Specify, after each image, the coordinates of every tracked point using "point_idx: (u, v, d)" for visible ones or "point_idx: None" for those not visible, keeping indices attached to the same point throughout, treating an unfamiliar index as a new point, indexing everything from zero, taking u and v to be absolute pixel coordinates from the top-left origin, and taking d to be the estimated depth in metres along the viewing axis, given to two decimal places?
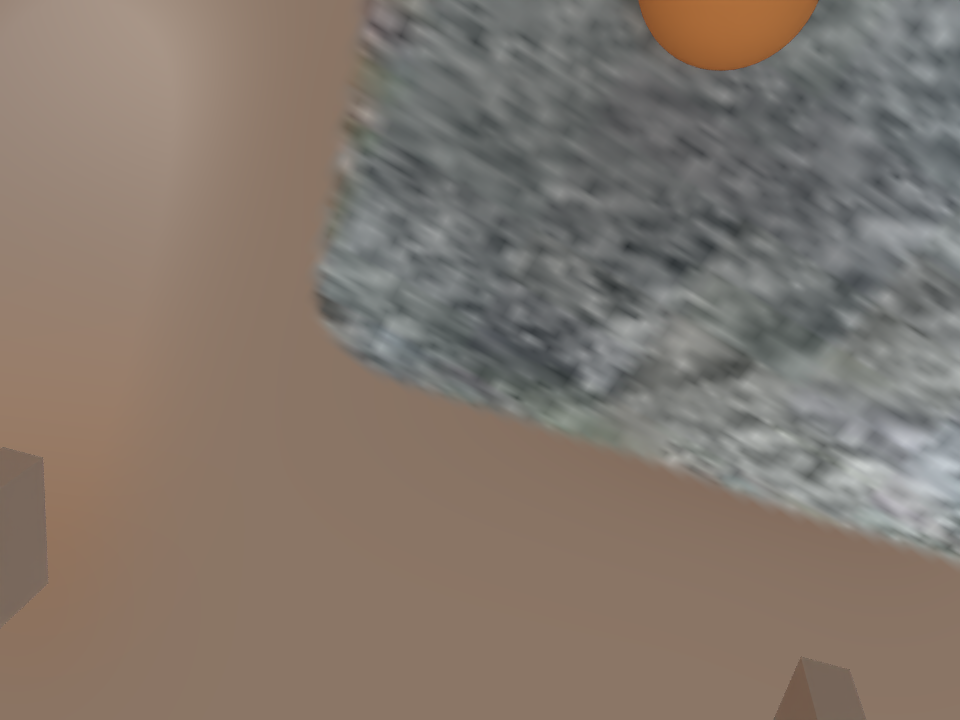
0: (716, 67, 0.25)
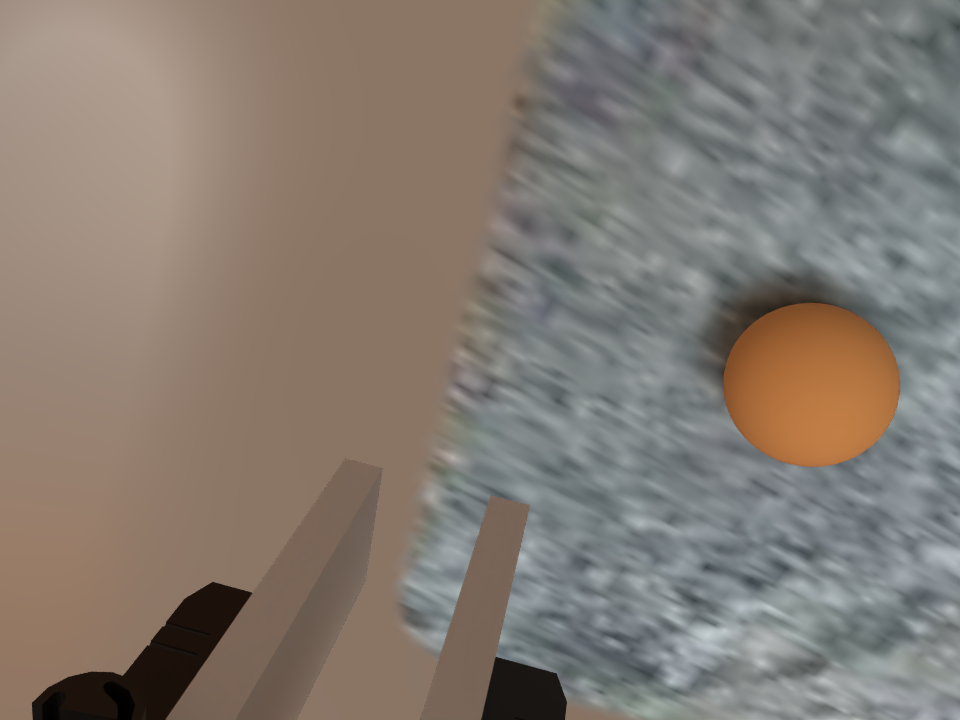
0: None
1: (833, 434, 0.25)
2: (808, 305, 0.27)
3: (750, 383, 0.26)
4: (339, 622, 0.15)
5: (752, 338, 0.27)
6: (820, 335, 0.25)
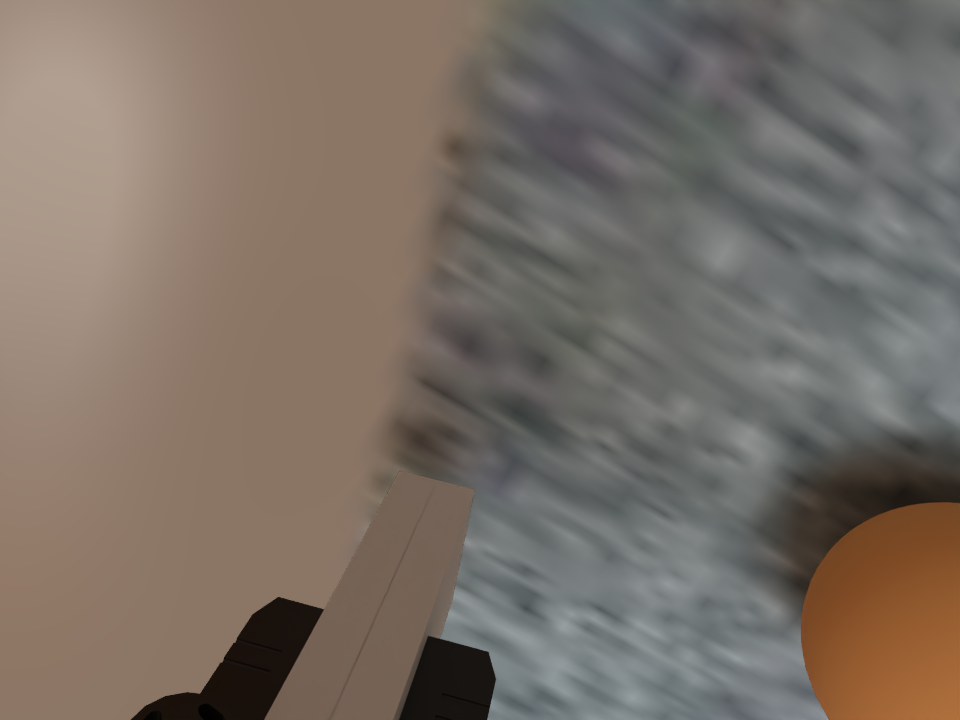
0: None
1: None
2: None
3: (860, 670, 0.14)
4: None
5: (860, 576, 0.15)
6: None
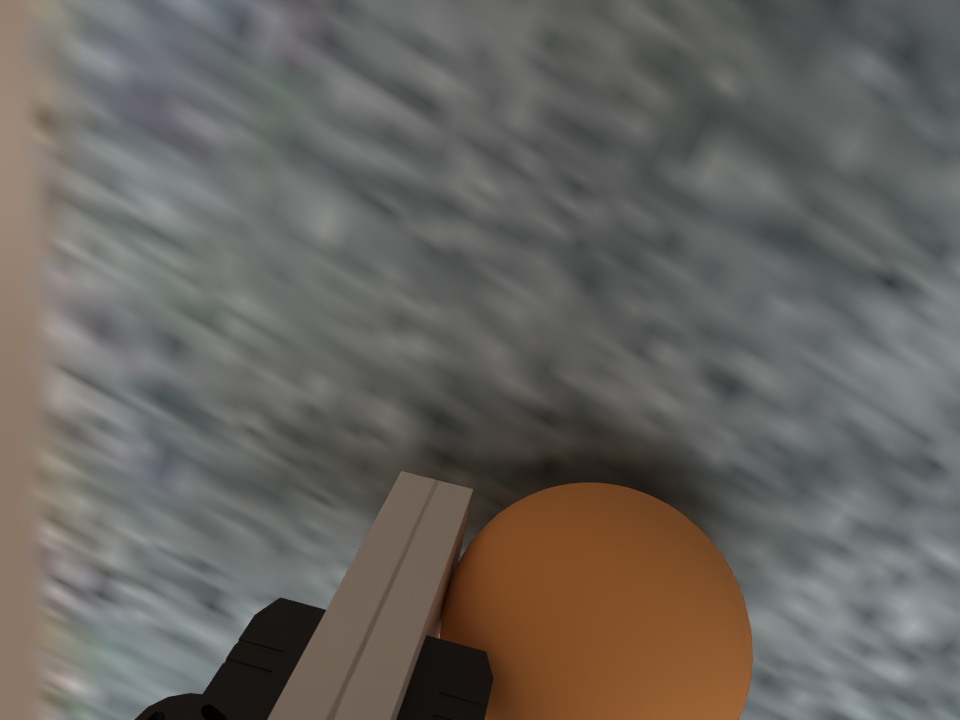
0: None
1: None
2: (574, 500, 0.14)
3: None
4: None
5: (471, 570, 0.14)
6: (582, 582, 0.13)
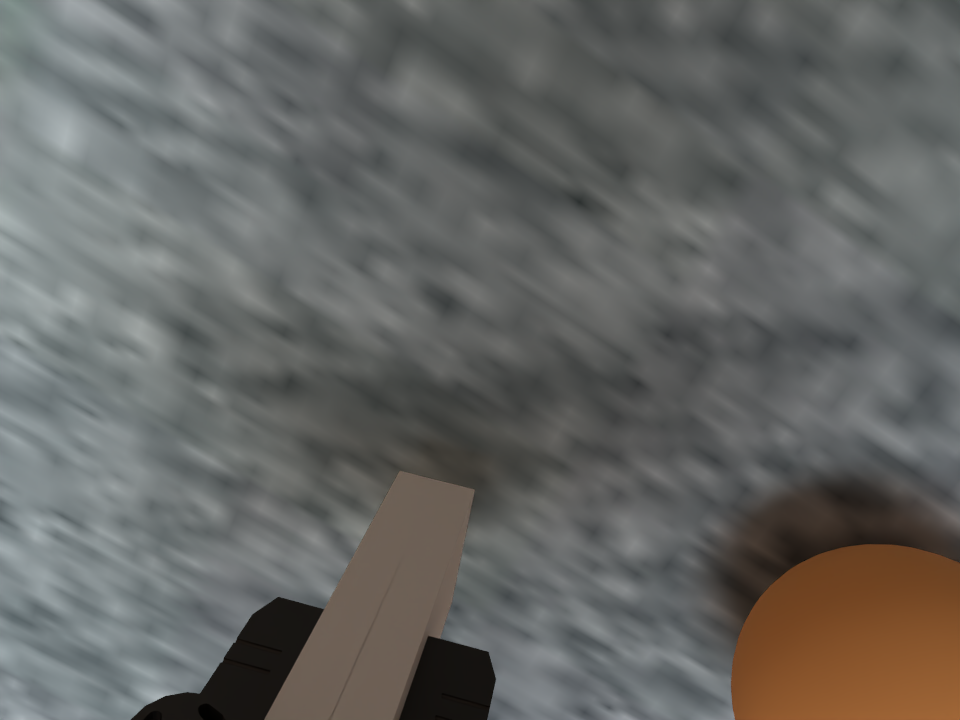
0: None
1: None
2: None
3: None
4: None
5: None
6: None
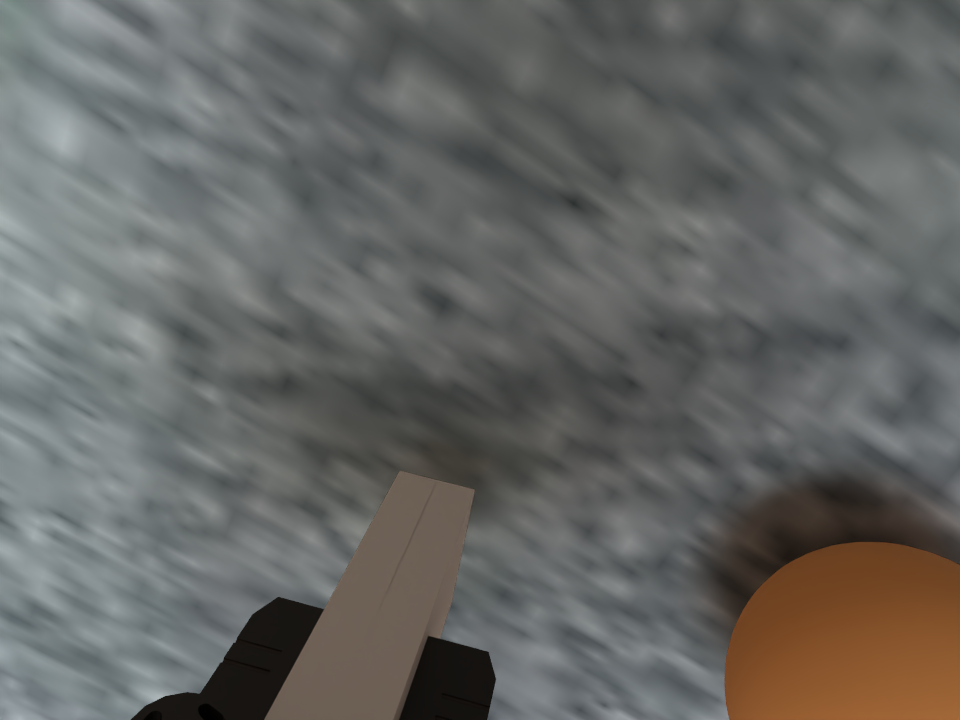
0: None
1: None
2: None
3: None
4: None
5: None
6: (877, 542, 0.15)
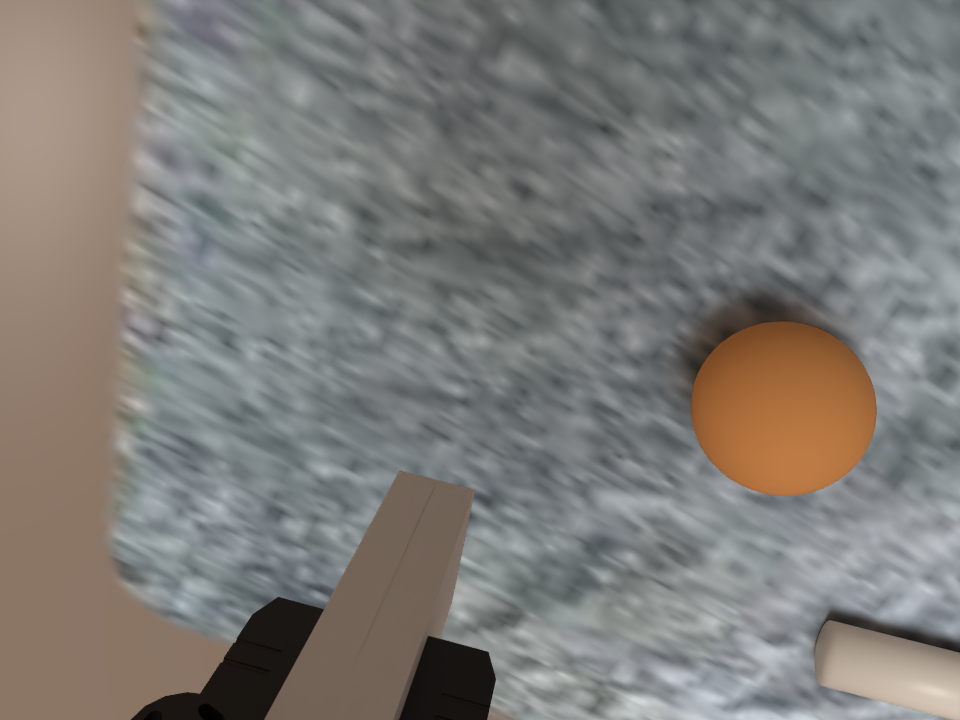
0: None
1: None
2: (830, 334, 0.25)
3: None
4: None
5: None
6: None
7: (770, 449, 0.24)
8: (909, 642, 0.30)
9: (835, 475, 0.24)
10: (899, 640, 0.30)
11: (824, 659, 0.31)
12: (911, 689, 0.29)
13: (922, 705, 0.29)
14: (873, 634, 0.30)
